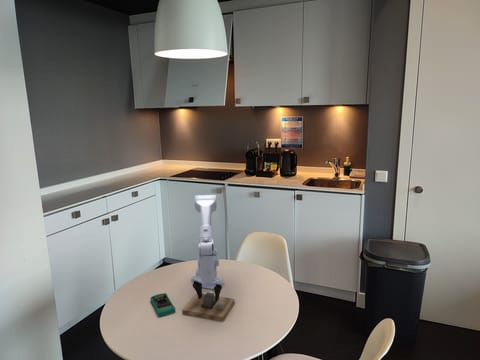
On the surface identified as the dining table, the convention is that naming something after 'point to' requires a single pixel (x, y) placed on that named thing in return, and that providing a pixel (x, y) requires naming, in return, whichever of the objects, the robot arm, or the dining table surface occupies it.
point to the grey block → (208, 300)
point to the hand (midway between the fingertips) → (208, 299)
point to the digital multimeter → (162, 304)
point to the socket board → (215, 313)
